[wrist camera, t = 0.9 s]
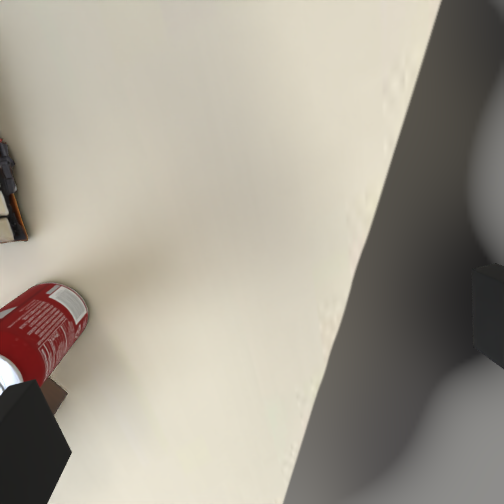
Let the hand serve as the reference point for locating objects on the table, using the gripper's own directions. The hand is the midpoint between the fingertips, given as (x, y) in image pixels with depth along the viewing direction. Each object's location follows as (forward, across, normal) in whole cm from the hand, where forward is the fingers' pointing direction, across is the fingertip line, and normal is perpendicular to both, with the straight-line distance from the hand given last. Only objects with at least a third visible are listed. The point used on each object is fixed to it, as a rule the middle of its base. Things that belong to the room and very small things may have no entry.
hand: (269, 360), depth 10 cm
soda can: (+25, -20, -5) cm, 33 cm away
